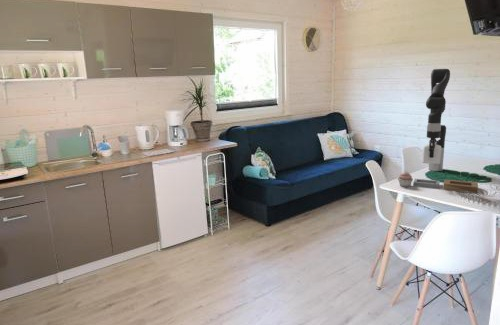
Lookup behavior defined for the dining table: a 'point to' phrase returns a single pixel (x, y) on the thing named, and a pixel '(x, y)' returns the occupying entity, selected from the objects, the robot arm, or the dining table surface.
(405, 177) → the cupcake
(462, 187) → the dock
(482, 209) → the dining table surface
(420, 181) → the holster
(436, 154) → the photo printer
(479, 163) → the dining table surface
